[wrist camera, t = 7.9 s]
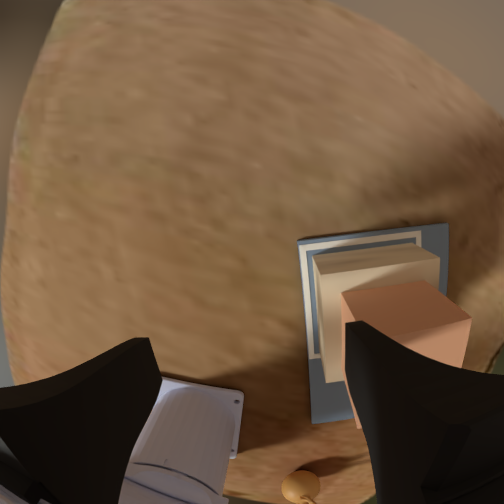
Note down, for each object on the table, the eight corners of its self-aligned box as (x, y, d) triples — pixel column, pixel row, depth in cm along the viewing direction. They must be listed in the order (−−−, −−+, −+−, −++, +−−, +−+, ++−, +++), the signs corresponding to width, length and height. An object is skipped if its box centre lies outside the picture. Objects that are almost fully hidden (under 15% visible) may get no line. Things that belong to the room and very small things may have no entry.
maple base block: (408, 334, 19) (429, 362, 16) (318, 349, 20) (326, 383, 16) (411, 242, 18) (440, 257, 14) (312, 255, 19) (320, 274, 15)
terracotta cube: (417, 355, 15) (450, 405, 11) (341, 369, 16) (357, 428, 11) (424, 280, 14) (472, 317, 10) (340, 292, 15) (365, 340, 10)
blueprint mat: (426, 397, 21) (428, 400, 21) (311, 421, 22) (311, 424, 22) (445, 222, 18) (449, 223, 17) (297, 240, 19) (297, 241, 18)
